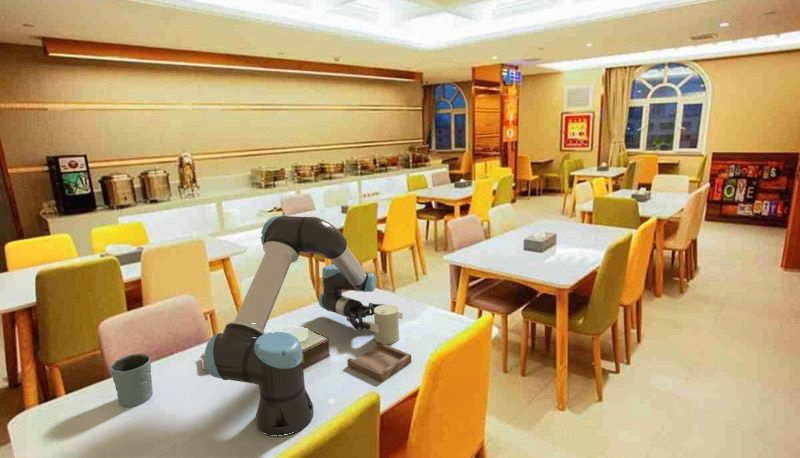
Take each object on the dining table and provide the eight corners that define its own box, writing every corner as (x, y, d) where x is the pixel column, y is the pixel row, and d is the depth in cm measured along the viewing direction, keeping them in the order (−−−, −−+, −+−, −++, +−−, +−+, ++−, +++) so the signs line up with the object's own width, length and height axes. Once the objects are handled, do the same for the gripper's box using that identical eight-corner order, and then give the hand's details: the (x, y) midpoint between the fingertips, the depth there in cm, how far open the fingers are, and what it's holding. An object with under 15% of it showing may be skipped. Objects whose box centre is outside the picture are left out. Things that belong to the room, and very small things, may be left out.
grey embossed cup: (121, 392, 132) (114, 357, 129) (159, 385, 135) (152, 350, 133) (113, 412, 123) (105, 374, 120) (153, 403, 126) (147, 367, 123)
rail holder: (381, 382, 133) (381, 374, 133) (347, 366, 143) (347, 359, 142) (411, 361, 145) (411, 354, 144) (378, 348, 154) (378, 341, 153)
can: (371, 342, 158) (369, 312, 155) (379, 331, 167) (378, 302, 164) (395, 345, 156) (394, 314, 153) (402, 333, 164) (401, 304, 161)
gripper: (371, 306, 182) (411, 319, 169) (326, 328, 164) (367, 344, 150) (370, 289, 181) (410, 301, 167) (325, 309, 162) (366, 324, 149)
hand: (390, 322), depth 159 cm, fingers open, 13 cm apart
